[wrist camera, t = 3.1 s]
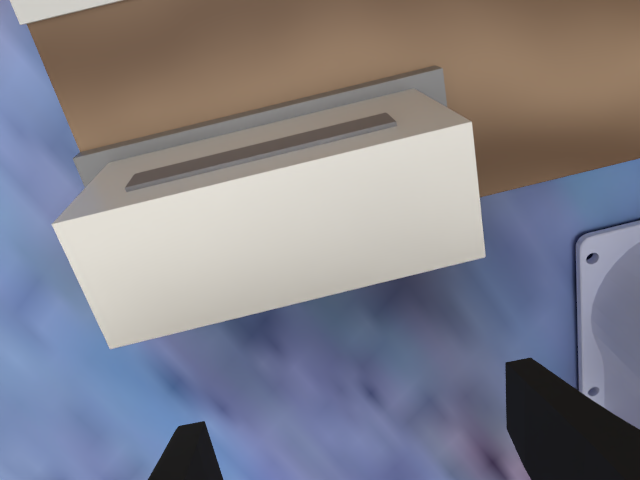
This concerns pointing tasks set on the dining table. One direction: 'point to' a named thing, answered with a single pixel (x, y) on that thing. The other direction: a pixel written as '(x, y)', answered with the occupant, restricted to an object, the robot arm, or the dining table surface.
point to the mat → (52, 8)
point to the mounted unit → (273, 207)
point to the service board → (362, 69)
